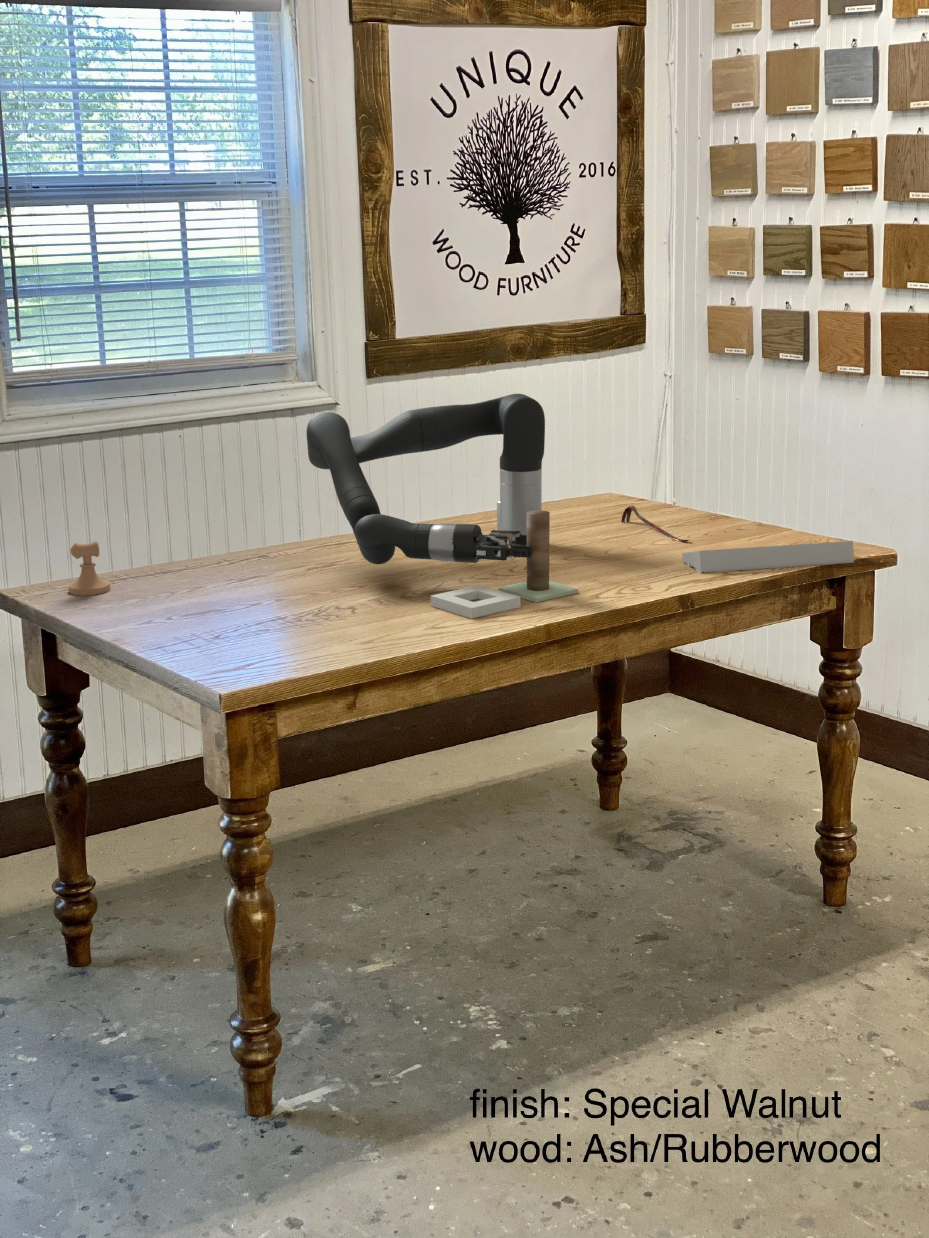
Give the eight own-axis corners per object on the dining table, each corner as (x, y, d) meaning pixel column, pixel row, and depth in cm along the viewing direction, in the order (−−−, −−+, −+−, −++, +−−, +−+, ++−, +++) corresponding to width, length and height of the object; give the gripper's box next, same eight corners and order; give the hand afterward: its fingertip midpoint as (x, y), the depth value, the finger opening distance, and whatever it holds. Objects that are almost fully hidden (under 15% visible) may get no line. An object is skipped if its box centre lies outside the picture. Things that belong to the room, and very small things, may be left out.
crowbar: (620, 523, 346) (622, 503, 344) (628, 522, 347) (630, 502, 345) (681, 560, 325) (683, 539, 323) (690, 558, 326) (692, 537, 324)
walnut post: (522, 587, 284) (521, 512, 280) (538, 584, 286) (538, 509, 282) (537, 592, 280) (537, 516, 276) (553, 588, 283) (554, 512, 279)
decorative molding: (683, 576, 306) (700, 574, 297) (681, 553, 306) (699, 550, 296) (832, 565, 314) (854, 563, 304) (830, 543, 313) (852, 540, 304)
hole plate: (430, 605, 275) (430, 595, 274) (479, 595, 282) (479, 585, 281) (471, 618, 266) (471, 608, 265) (520, 607, 273) (520, 596, 272)
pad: (498, 591, 284) (498, 587, 284) (539, 582, 291) (539, 578, 291) (536, 602, 276) (536, 598, 276) (578, 592, 283) (578, 588, 283)
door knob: (109, 544, 284) (68, 548, 281) (113, 592, 287) (72, 597, 284) (102, 536, 291) (62, 540, 288) (106, 583, 294) (66, 587, 291)
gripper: (464, 552, 293) (543, 556, 289) (446, 570, 280) (528, 574, 276) (463, 516, 291) (543, 519, 287) (445, 532, 278) (528, 536, 274)
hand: (536, 546), depth 282 cm, fingers open, 8 cm apart
